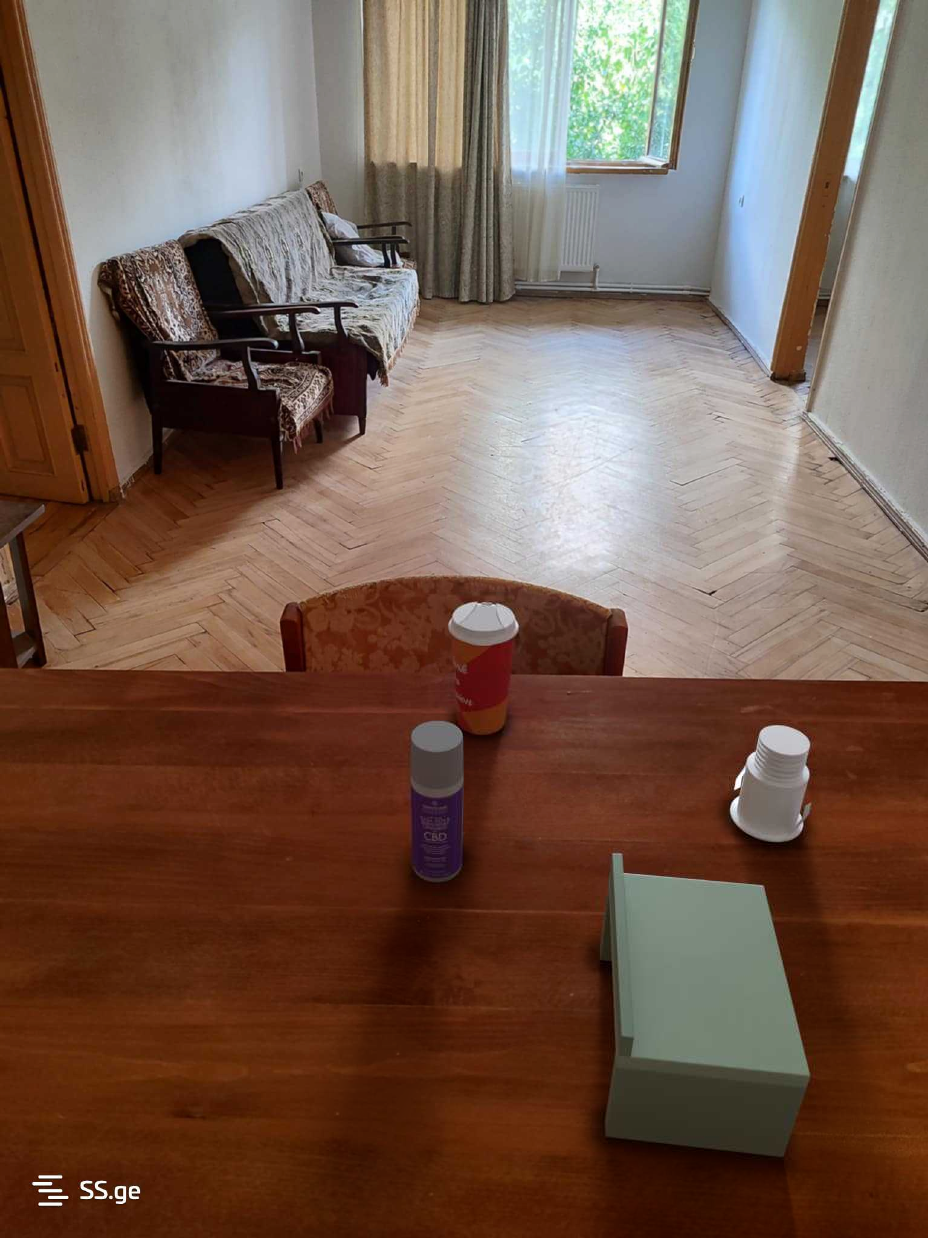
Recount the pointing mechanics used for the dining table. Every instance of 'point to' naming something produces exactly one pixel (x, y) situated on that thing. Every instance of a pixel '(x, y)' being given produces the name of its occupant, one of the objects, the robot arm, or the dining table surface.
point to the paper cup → (482, 664)
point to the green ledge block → (699, 1016)
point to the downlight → (773, 786)
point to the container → (437, 800)
